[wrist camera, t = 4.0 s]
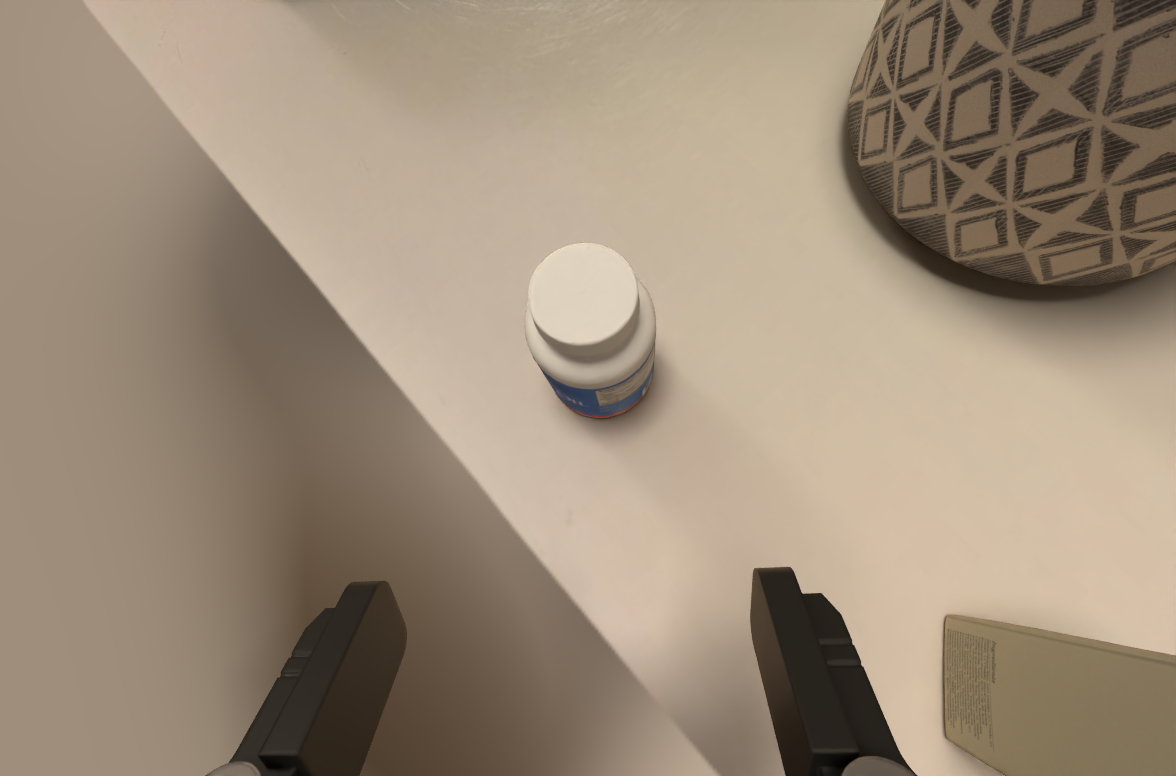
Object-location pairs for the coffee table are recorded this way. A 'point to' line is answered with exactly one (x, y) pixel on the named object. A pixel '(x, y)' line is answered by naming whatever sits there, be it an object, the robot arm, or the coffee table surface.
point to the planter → (1024, 133)
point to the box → (1058, 702)
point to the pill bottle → (591, 329)
